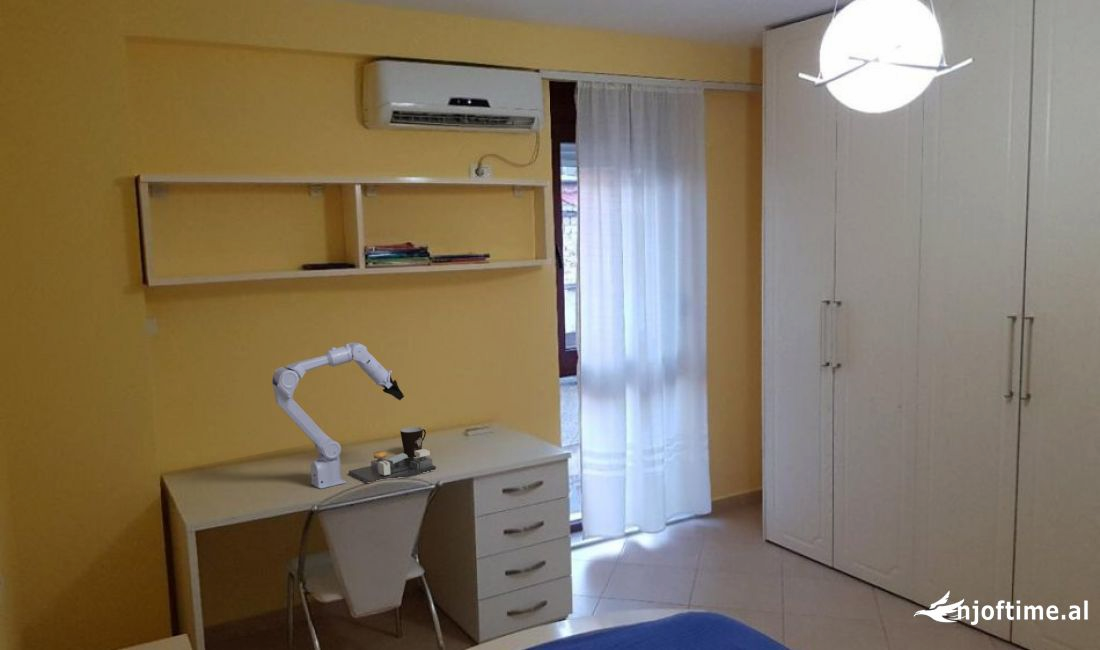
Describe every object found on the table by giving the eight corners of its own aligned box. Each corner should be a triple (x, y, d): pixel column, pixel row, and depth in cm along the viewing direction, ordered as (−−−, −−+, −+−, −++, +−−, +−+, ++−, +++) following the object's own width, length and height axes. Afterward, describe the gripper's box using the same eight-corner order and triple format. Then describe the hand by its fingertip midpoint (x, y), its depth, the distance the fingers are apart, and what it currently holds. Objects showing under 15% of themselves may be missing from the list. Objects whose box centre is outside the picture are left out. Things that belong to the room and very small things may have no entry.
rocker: (393, 463, 297) (392, 461, 297) (388, 461, 300) (387, 459, 300) (407, 457, 300) (407, 454, 300) (402, 455, 303) (402, 452, 303)
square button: (420, 463, 293) (419, 453, 293) (414, 461, 296) (414, 450, 296) (430, 461, 296) (429, 450, 295) (424, 459, 299) (424, 448, 298)
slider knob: (384, 475, 285) (383, 464, 284) (378, 473, 288) (378, 461, 287) (390, 474, 286) (389, 462, 286) (385, 471, 289) (384, 460, 289)
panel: (371, 485, 280) (370, 474, 279) (349, 474, 294) (348, 463, 294) (436, 470, 295) (435, 459, 295) (411, 460, 309) (410, 450, 309)
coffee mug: (407, 459, 312) (405, 433, 310) (398, 454, 319) (396, 429, 318) (435, 453, 318) (433, 428, 317) (425, 449, 325) (424, 424, 324)
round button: (377, 465, 293) (377, 455, 292) (372, 463, 296) (371, 452, 296) (388, 463, 295) (388, 452, 295) (383, 460, 299) (382, 450, 298)
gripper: (387, 366, 284) (412, 392, 289) (377, 356, 297) (402, 382, 302) (371, 380, 283) (397, 407, 288) (363, 370, 296) (388, 395, 301)
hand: (399, 395), depth 295 cm, fingers open, 7 cm apart
